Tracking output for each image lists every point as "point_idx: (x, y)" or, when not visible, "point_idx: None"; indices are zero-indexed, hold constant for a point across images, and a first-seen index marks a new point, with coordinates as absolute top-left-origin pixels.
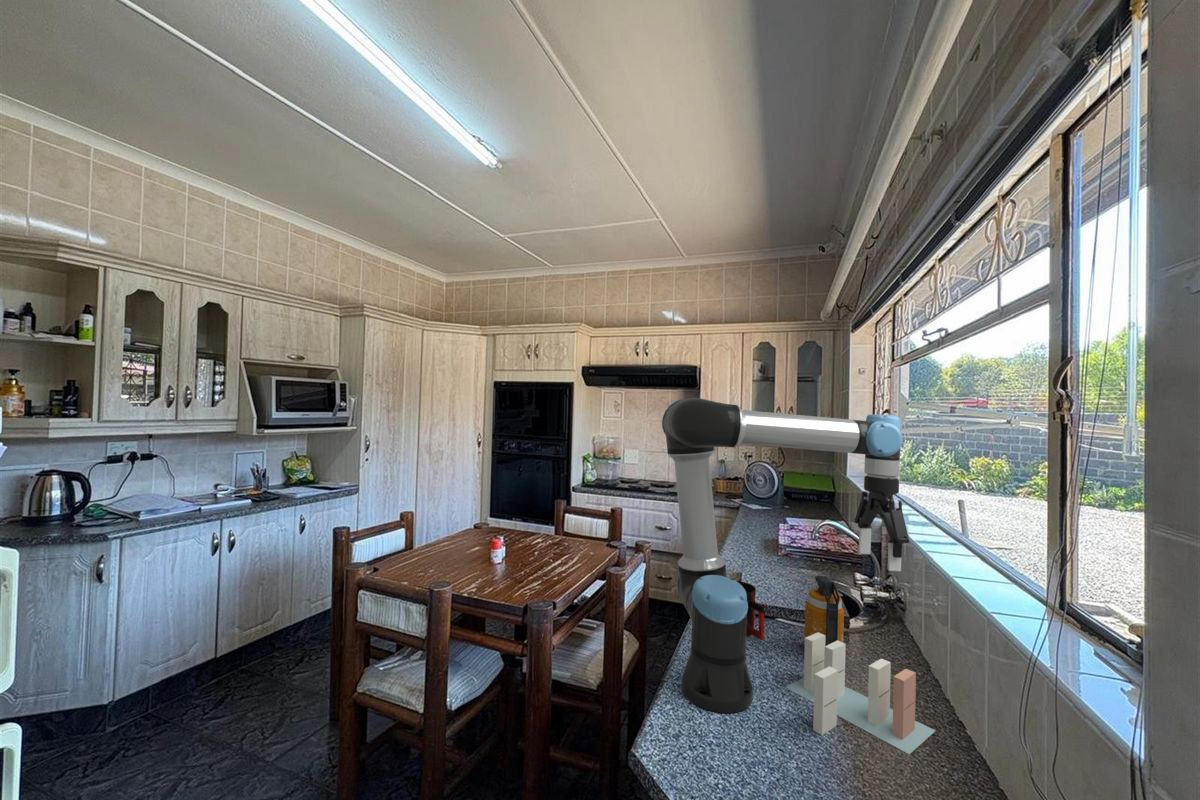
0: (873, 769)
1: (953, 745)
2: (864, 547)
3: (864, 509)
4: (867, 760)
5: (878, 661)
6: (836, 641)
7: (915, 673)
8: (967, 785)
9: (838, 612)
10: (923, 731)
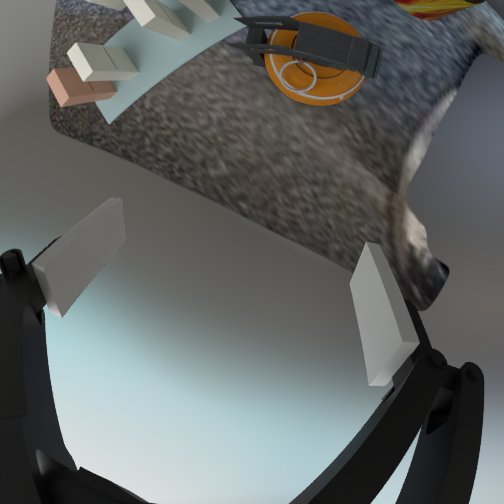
0: (68, 31)
1: (92, 129)
2: (365, 279)
3: (423, 492)
4: (77, 29)
5: (85, 62)
6: (151, 12)
7: (61, 106)
8: (52, 107)
9: (268, 67)
10: (106, 107)
